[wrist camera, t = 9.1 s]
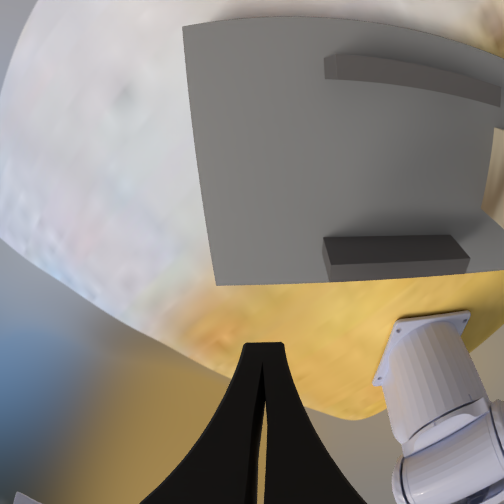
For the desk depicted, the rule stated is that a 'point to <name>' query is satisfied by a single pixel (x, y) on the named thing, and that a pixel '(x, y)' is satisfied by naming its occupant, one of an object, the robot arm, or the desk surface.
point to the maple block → (495, 180)
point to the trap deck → (342, 150)
